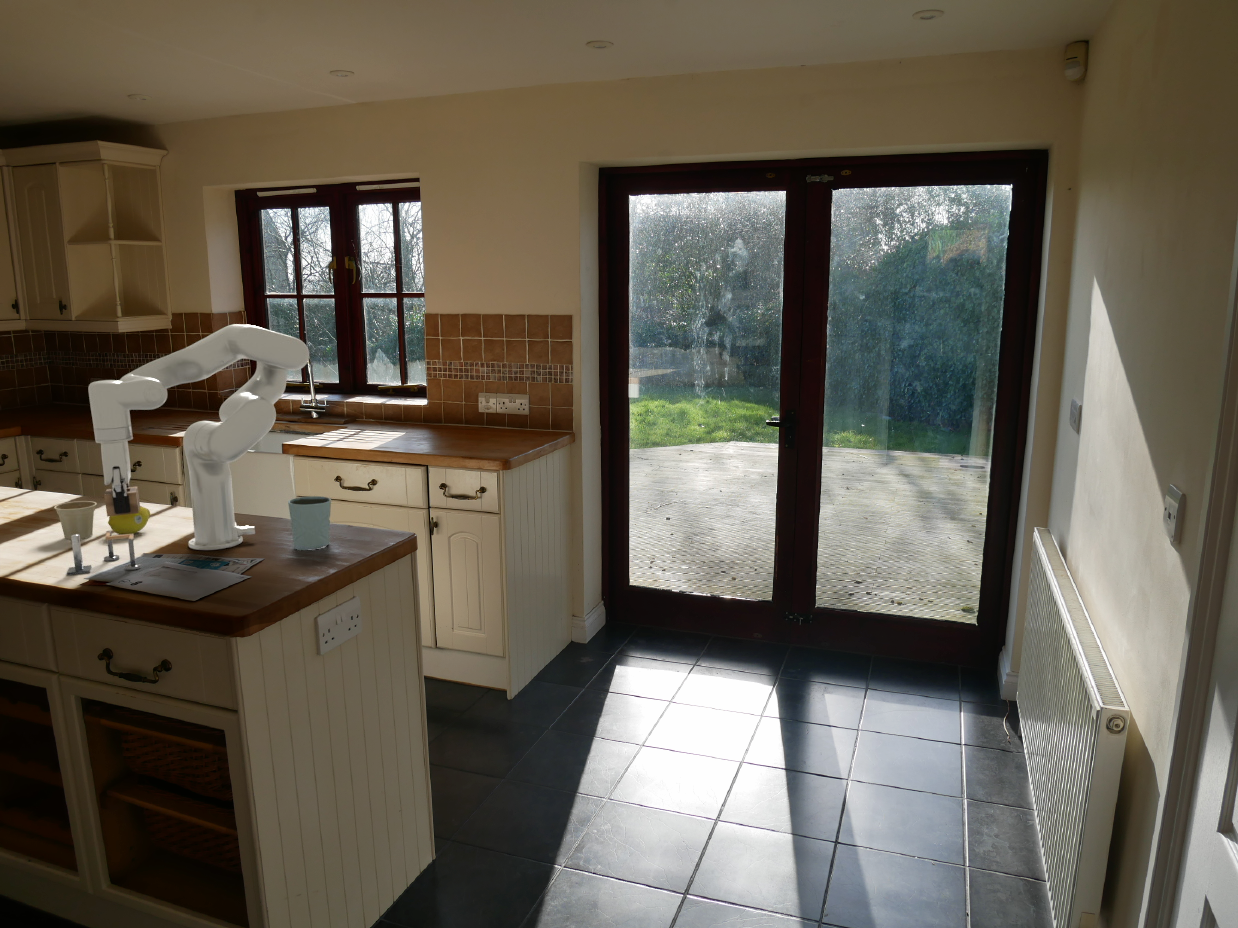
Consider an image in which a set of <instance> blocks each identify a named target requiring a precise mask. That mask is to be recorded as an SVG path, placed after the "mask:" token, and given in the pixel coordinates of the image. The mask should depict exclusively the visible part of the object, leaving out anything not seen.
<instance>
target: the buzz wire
mask: <svg viewBox="0 0 1238 928" xmlns="http://www.w3.org/2000/svg"><path fill="white" fill-rule="evenodd" d="M104 539H105V541H106V542H107V549H108V550H107V551H108V555H106V556H104V557H103V561H104V562H114V561H118V560H120V555H118V554H115V553H114V546H113V545H114V544H113V540H118V539H119V540H120V539H127V541H128V552H129V562H130V564H128V565H125V570H126V571H136V569H137V570H140V569H141V568H142V564H141V563H136V556H135V555H136V554H135V546H134V534H125V535H120V534H116V535H112V530H106V533H105V538H104ZM139 568H140V569H139Z"/></svg>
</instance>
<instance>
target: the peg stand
mask: <svg viewBox="0 0 1238 928" xmlns="http://www.w3.org/2000/svg"><path fill="white" fill-rule="evenodd" d="M71 538H72V540H71V544H72V545H71V546H72V555H73V561H74V562H73V563H74V566H70V567H68V569H67V572H66V576H72V575H73V576H75V575H83V574H90V573H91V570H92V565H91V564H90V565H89V564H87V565H84V563H83V555H82V544H81V539H80V535H79V534H75V535H71Z"/></svg>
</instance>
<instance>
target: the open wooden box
mask: <svg viewBox="0 0 1238 928" xmlns="http://www.w3.org/2000/svg"><path fill="white" fill-rule="evenodd" d="M127 495H129V502H130V509H131V511H130V512H129V513H121V514H115V511H114V504H113V489H112V488H107V489H106V490H105V492H104V504H105V510H106V516H107V518H108V517H110V516H116V515H125V514H134V513H139V510H140V506H141V505H140V504H141V502H140V495H139V488H138V486H129V487H127Z"/></svg>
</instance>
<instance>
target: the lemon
mask: <svg viewBox="0 0 1238 928" xmlns="http://www.w3.org/2000/svg"><path fill="white" fill-rule="evenodd" d="M108 517H109V518H108V521H107V523H108V526H109V527H110V529H111V531H113V532H114V533H115V534H116V535H125V534H133V535H134V534H137V533H138V532H140V531H141V530H142V529H144V528H145V527H146V526H147V523H148V521H149V519H150V517H151V511H150V509H149V508H146V507H144V506H141V505H140V510H139V513H134V514H125V515H116V516H108Z"/></svg>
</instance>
